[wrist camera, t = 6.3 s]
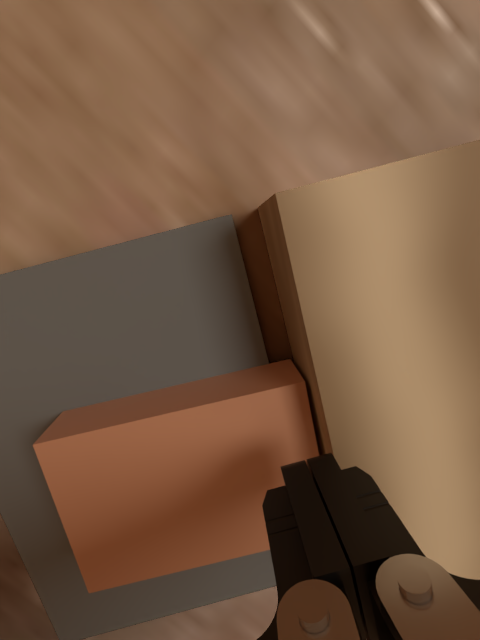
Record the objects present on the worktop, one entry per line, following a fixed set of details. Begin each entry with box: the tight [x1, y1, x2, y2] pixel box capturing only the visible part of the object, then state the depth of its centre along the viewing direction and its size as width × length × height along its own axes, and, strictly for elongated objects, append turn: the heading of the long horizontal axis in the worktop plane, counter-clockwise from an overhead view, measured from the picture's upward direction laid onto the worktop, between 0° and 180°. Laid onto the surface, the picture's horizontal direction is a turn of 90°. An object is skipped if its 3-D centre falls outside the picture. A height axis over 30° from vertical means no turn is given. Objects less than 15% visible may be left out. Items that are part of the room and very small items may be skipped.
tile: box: [33, 359, 319, 593], centre depth 14 cm, size 9×6×2 cm, turn 102°
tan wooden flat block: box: [258, 140, 480, 580], centre depth 13 cm, size 12×16×4 cm
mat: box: [0, 214, 277, 640], centre depth 15 cm, size 12×16×1 cm
